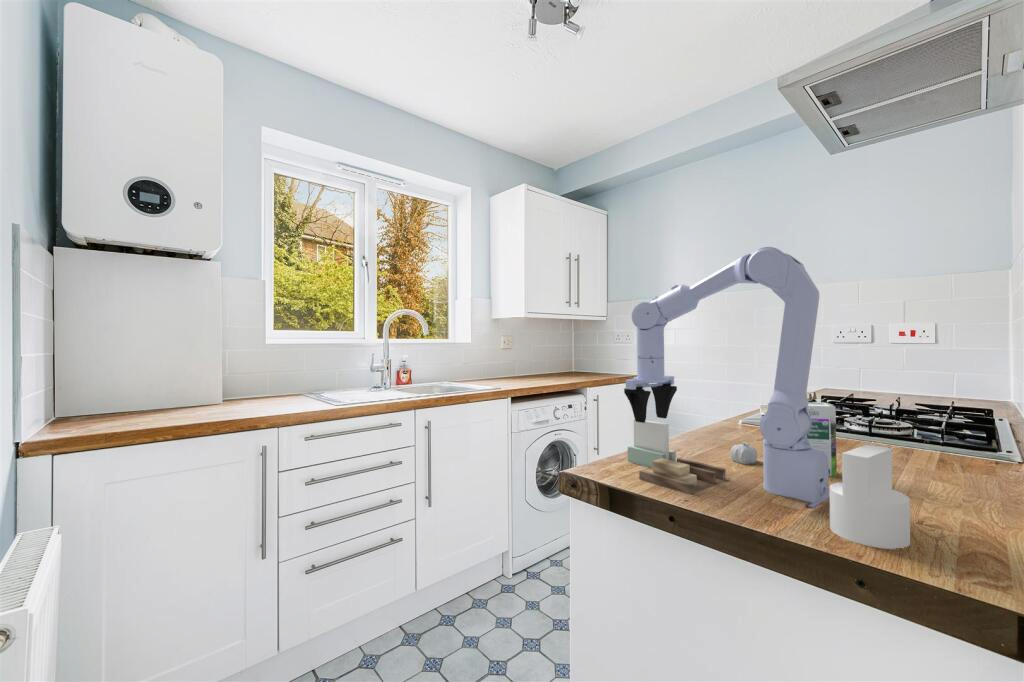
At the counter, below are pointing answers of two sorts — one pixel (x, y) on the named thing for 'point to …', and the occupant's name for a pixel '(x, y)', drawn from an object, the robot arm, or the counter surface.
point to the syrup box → (823, 432)
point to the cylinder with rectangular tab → (869, 501)
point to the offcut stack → (674, 470)
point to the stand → (647, 456)
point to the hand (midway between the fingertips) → (651, 419)
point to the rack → (704, 472)
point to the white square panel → (652, 436)
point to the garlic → (743, 453)
